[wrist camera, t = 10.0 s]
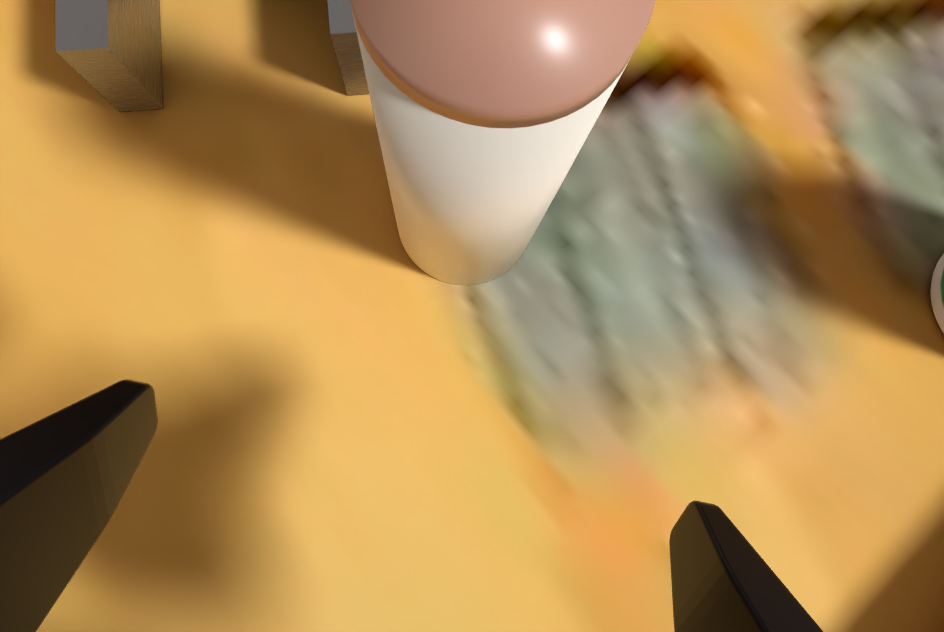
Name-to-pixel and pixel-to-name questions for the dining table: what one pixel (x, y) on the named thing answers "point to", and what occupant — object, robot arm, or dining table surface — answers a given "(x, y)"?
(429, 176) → the mushroom
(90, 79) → the bracket
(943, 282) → the supplement bottle
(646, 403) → the dining table surface
